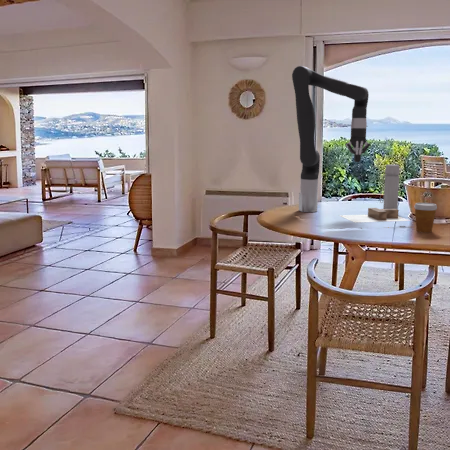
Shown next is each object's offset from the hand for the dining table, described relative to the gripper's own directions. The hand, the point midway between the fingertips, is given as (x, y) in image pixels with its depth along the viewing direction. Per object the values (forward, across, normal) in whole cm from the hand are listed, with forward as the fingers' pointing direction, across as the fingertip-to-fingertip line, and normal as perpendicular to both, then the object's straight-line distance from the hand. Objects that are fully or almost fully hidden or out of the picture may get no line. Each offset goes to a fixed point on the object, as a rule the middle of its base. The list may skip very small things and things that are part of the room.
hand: (357, 162), depth 278 cm
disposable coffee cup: (+27, -12, +47) cm, 56 cm away
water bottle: (+27, -20, -3) cm, 34 cm away
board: (+27, -2, +18) cm, 33 cm away
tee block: (+26, -7, +18) cm, 32 cm away
